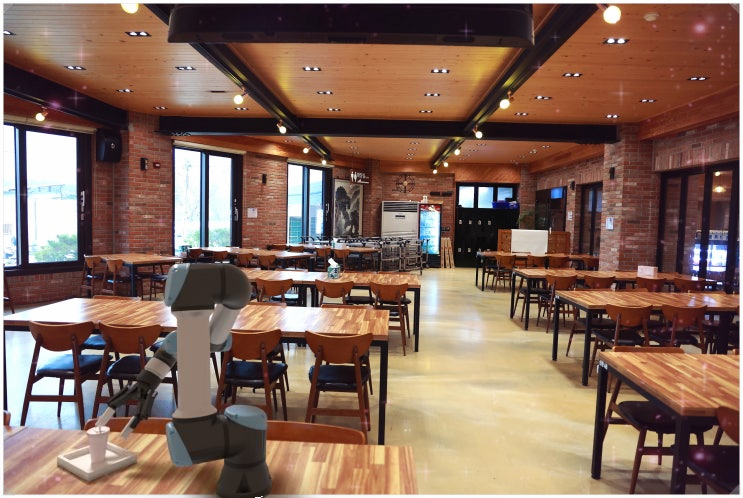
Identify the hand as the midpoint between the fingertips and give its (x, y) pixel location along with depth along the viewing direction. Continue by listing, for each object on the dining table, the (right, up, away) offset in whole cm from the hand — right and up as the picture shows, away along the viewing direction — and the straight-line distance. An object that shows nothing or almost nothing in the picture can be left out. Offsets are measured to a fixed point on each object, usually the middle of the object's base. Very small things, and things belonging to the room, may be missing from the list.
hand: (110, 432), depth 162 cm
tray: (-2, -8, -3) cm, 9 cm away
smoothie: (-2, -8, -3) cm, 9 cm away
